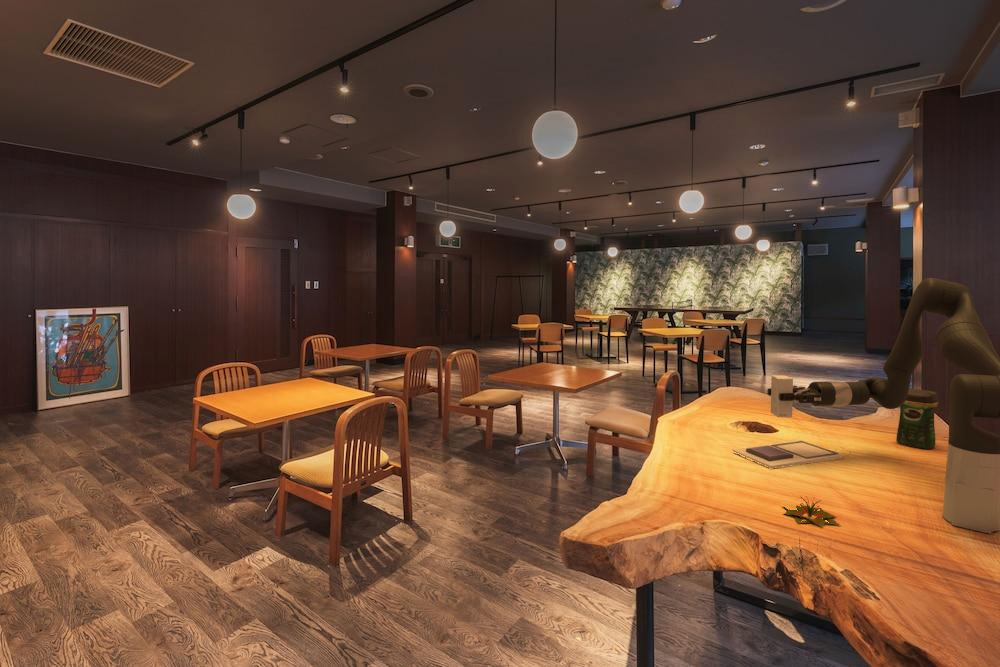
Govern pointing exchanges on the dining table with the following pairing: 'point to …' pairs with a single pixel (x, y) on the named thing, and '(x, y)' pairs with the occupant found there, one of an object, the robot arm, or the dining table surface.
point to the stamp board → (788, 454)
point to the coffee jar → (917, 419)
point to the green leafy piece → (810, 512)
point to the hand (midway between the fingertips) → (773, 394)
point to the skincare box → (778, 386)
